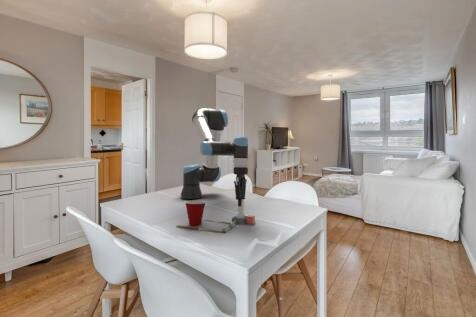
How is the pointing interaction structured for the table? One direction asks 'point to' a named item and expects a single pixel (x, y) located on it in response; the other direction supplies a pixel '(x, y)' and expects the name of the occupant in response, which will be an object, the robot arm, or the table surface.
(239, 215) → the dome
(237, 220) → the dome housing
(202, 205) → the plastic cup
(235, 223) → the u-shaped frame
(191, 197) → the robot arm
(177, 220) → the table surface
